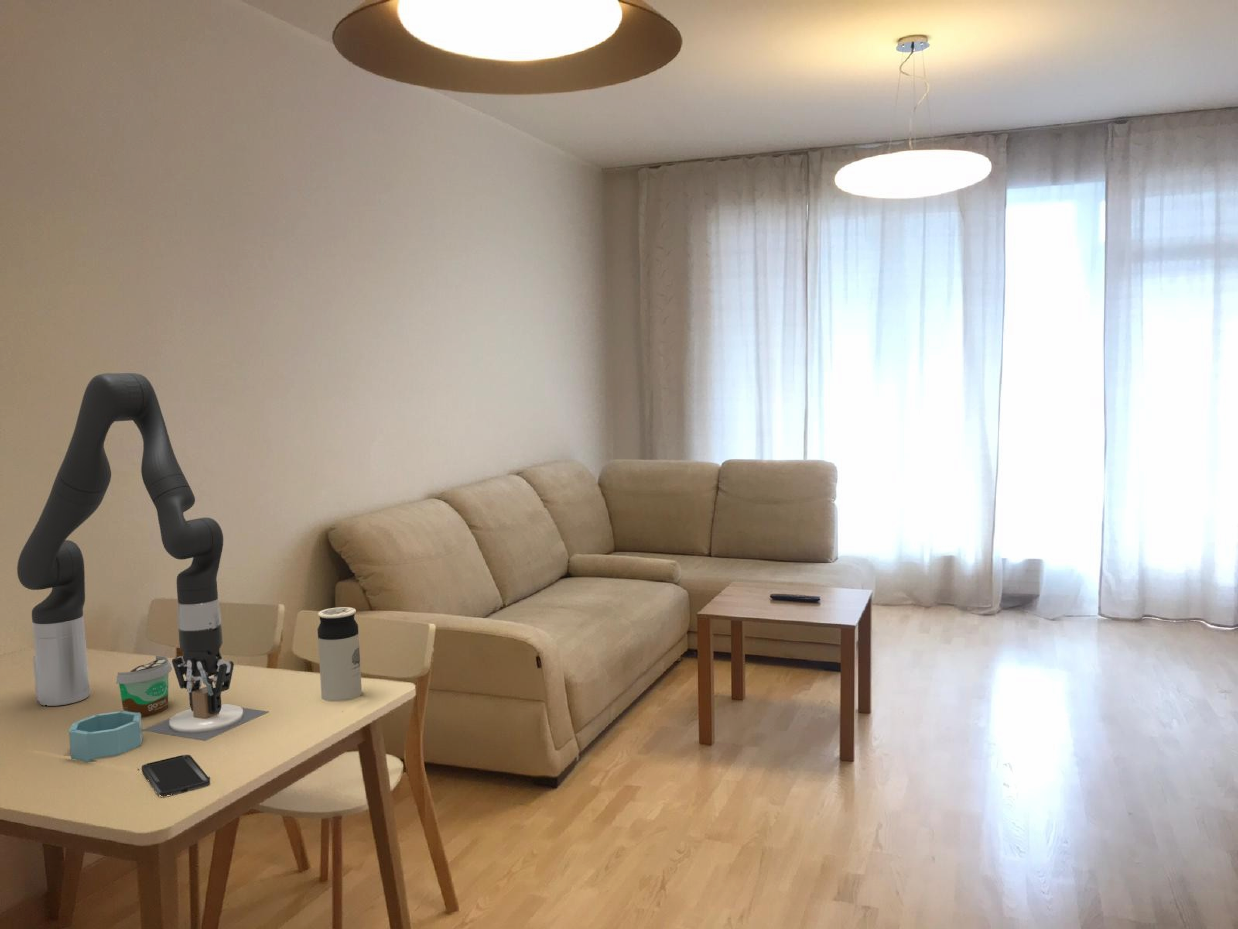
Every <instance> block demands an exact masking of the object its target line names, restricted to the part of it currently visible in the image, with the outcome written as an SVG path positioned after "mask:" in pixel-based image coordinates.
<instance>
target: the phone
mask: <svg viewBox="0 0 1238 929" xmlns="http://www.w3.org/2000/svg"><path fill="white" fill-rule="evenodd" d="M141 772H142V774H143V775H144V777H145V779H146V780H147V779H148V780H149V781H148V780H147V781H148V783H149V782H150V783H149V785H152V786H151V787H152V789H153V788H154V789H153V790H154V791H156V792H157V793H156V792H155V793H156V795H157V794H158V795H161V796H167V795H171V794H176V795H179V794H182V793H186V792H191V791H195V790H198V789H202V788H206V787H208V786H210V784H211V779H210V777H209V776H208V774H206V773H205V771H204V770H203V768H201V766H200V765H199V763H197V761H195V759H194V758H193V757H192V755H191V754H181V755H177V756H174V757H169V758H165V759H160V760H156V761H151V762H148V763H144V764H143V765H141ZM158 795H157V796H158Z"/></svg>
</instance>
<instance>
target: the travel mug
mask: <svg viewBox="0 0 1238 929" xmlns="http://www.w3.org/2000/svg"><path fill="white" fill-rule="evenodd" d="M356 612H357V610H356V608H354V607H349V606H346V607H345V606H342V607H341V606H339V607H338V606H337V607H332V608H325V609H322V610H319V611H318V613H317V616H318V617H319V620H320V623H319V625H318V627H317V641H318V643H317V644H318V659H319V660H318V661H319V662H318V663H319V678H320V680H319V681H320V691H321V692H320V694H321V699H322V700H323V701H326V702H343V701H349V700H354V699H356V698H358V697H361V696H362V695H363V690H362V672H361V654H360V653H361V652H360V637H359V635H360V634H359V624H358V623H357V620H356V619H355V616H356Z"/></svg>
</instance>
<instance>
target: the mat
mask: <svg viewBox="0 0 1238 929" xmlns="http://www.w3.org/2000/svg"><path fill="white" fill-rule="evenodd" d="M241 708H242V709H243V717H242V719H241V720H239V721H238V722H236V723H235V724H232V725H230V726H227V727H224V728H221V729H217V730H213V731H207V732H199V733H181V732H176V731H173V730H171V729H170V725H169V720H170V719H171V717H170V718H167V719H165V720H163V721H161V722H157V723H155V724H152V725H150V726H147V727H146V728H142V732H151V733H155V734H160V735H161V734H162V735H167V736H173V737H179V738H180V737H181V738H186V739H192V740H198V741H203V742H205V741H208V740H210V739H212V738H215V737H218V735H221V734H223V733H225V732H228V731H230V730H232V729H235V728H237V727H239V726H240V725H243V724H245V723H248V722H250V721H252V720H255V719H258V717H262V716H264V715H266V714H268V713H270V711H268V710H261V709H255V708H247V707H241Z"/></svg>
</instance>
